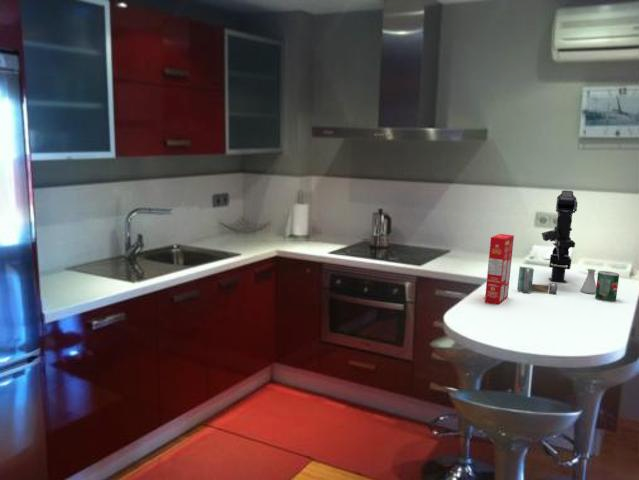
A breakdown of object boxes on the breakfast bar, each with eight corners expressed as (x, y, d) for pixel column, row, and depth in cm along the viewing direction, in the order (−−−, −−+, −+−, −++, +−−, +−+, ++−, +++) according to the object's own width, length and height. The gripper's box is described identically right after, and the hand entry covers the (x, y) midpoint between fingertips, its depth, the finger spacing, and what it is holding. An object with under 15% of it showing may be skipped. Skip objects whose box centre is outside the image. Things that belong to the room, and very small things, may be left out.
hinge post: (548, 292, 251) (549, 283, 251) (555, 293, 251) (556, 283, 250) (549, 294, 248) (550, 284, 248) (557, 294, 248) (558, 285, 247)
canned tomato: (618, 302, 239) (621, 275, 238) (597, 300, 241) (600, 273, 239) (613, 298, 247) (616, 272, 245) (592, 296, 249) (595, 270, 247)
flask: (594, 291, 259) (597, 268, 258) (600, 294, 252) (603, 271, 251) (577, 289, 260) (580, 267, 258) (583, 293, 253) (585, 270, 251)
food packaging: (494, 295, 240) (500, 233, 237) (507, 297, 238) (513, 235, 234) (484, 302, 228) (490, 237, 224) (498, 304, 225) (505, 239, 221)
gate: (546, 291, 252) (549, 268, 250) (548, 293, 248) (551, 270, 247) (517, 289, 253) (519, 266, 251) (519, 291, 249) (521, 268, 248)
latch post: (522, 292, 249) (524, 268, 248) (528, 292, 249) (530, 269, 247) (523, 293, 247) (525, 269, 245) (529, 293, 246) (531, 270, 245)
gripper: (539, 221, 269) (536, 255, 271) (549, 226, 251) (545, 262, 253) (565, 223, 267) (561, 257, 270) (577, 228, 249) (573, 264, 251)
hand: (559, 260), depth 261 cm, fingers closed
